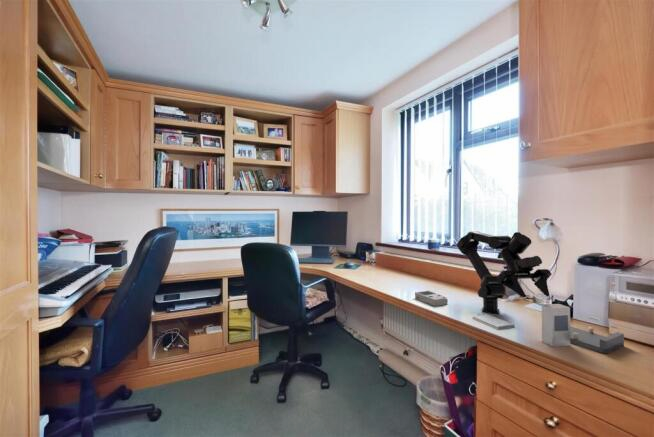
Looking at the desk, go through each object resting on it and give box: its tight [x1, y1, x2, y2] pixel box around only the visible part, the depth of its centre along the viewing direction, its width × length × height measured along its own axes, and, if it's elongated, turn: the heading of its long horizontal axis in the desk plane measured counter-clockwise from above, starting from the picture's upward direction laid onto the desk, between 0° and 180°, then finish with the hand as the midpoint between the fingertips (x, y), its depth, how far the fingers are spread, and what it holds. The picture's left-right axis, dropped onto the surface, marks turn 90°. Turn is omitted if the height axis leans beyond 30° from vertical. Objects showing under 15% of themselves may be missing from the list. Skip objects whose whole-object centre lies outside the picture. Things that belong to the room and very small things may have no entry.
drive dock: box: [570, 325, 625, 355], centre depth 96 cm, size 16×12×4 cm
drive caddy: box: [541, 303, 571, 347], centre depth 94 cm, size 4×6×12 cm, turn 95°
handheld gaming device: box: [414, 290, 449, 307], centre depth 143 cm, size 9×15×4 cm, turn 21°
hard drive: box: [472, 313, 516, 330], centre depth 113 cm, size 2×8×12 cm
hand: (536, 296), depth 102 cm, fingers open, 9 cm apart
